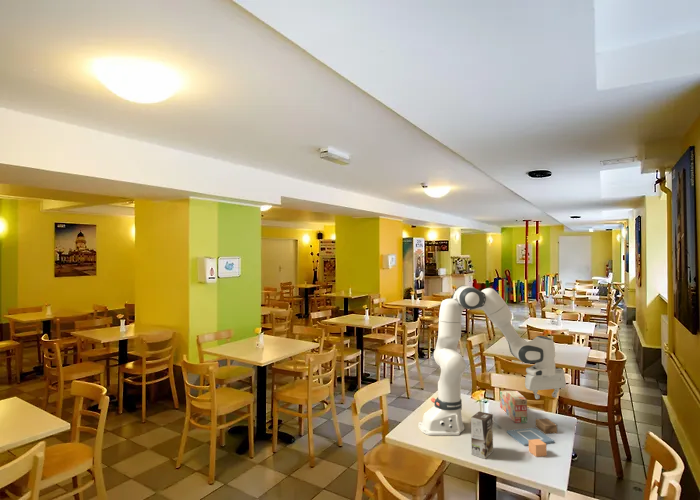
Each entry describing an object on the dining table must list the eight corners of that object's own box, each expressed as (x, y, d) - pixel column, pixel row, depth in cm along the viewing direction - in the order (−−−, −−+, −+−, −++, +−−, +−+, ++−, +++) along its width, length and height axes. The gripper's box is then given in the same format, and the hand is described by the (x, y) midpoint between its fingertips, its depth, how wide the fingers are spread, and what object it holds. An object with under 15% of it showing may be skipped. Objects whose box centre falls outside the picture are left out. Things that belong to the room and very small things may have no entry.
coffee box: (485, 459, 168) (485, 420, 168) (470, 454, 172) (470, 416, 172) (493, 451, 175) (493, 414, 175) (479, 446, 179) (479, 410, 179)
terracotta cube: (536, 457, 170) (535, 445, 170) (528, 451, 175) (528, 439, 175) (546, 455, 171) (546, 444, 171) (539, 450, 176) (538, 438, 176)
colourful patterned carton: (499, 407, 226) (499, 385, 226) (510, 407, 226) (510, 385, 226) (515, 423, 204) (514, 398, 205) (527, 423, 204) (527, 398, 204)
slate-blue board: (524, 446, 179) (524, 443, 179) (506, 432, 193) (506, 430, 193) (554, 443, 182) (554, 440, 182) (534, 429, 196) (534, 427, 196)
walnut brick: (545, 434, 192) (545, 425, 192) (535, 427, 200) (535, 419, 200) (557, 433, 192) (556, 425, 192) (547, 426, 200) (547, 418, 200)
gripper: (559, 366, 201) (560, 394, 201) (522, 369, 198) (523, 397, 197) (568, 369, 195) (569, 398, 195) (530, 372, 191) (531, 401, 191)
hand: (545, 397), depth 196 cm, fingers open, 8 cm apart
